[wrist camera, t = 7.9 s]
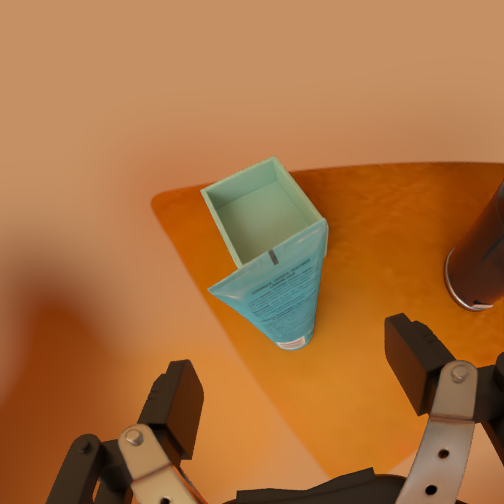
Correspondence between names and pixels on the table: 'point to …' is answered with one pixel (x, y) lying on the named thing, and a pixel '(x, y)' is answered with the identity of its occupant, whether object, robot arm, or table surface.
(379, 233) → the table surface
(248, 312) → the tube
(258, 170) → the open pale green box
